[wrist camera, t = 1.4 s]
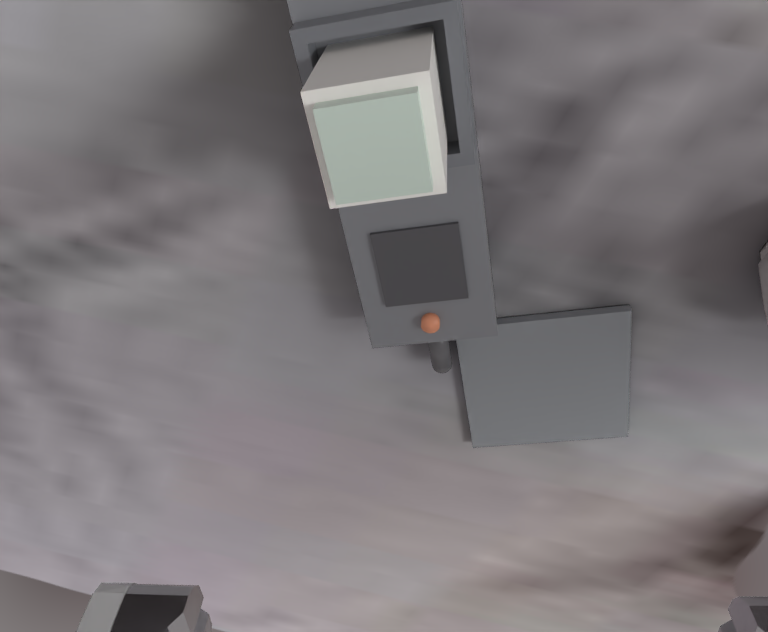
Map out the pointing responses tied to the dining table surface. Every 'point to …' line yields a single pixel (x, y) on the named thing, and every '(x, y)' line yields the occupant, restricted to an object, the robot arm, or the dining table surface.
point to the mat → (549, 378)
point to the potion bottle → (764, 277)
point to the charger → (378, 119)
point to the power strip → (420, 214)
